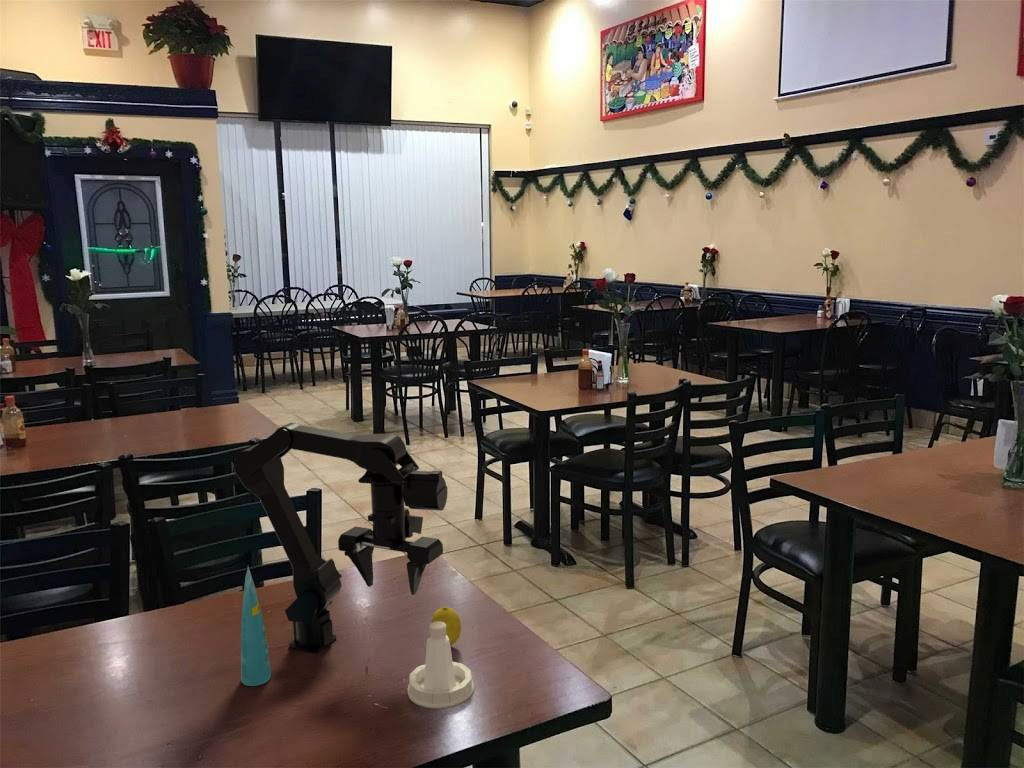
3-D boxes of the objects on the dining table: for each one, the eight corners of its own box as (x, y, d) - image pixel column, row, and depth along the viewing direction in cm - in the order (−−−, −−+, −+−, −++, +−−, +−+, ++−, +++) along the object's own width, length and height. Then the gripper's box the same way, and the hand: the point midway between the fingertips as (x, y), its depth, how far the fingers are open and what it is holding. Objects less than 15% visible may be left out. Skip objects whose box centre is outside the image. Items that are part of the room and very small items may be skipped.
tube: (274, 686, 137) (266, 579, 133) (244, 693, 135) (235, 584, 131) (267, 665, 143) (259, 563, 140) (238, 672, 141) (230, 568, 138)
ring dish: (394, 700, 132) (394, 686, 131) (428, 667, 142) (428, 654, 141) (454, 714, 127) (454, 700, 127) (485, 680, 137) (484, 667, 137)
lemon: (457, 656, 145) (455, 614, 144) (427, 653, 147) (425, 612, 145) (464, 641, 151) (463, 601, 149) (436, 638, 152) (434, 599, 150)
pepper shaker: (420, 694, 132) (417, 631, 130) (427, 676, 138) (424, 616, 136) (453, 695, 132) (451, 632, 130) (458, 678, 137) (456, 617, 135)
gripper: (456, 499, 146) (458, 580, 149) (369, 488, 154) (373, 565, 156) (425, 518, 136) (428, 605, 139) (333, 505, 144) (338, 588, 146)
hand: (392, 589), depth 145 cm, fingers open, 9 cm apart
